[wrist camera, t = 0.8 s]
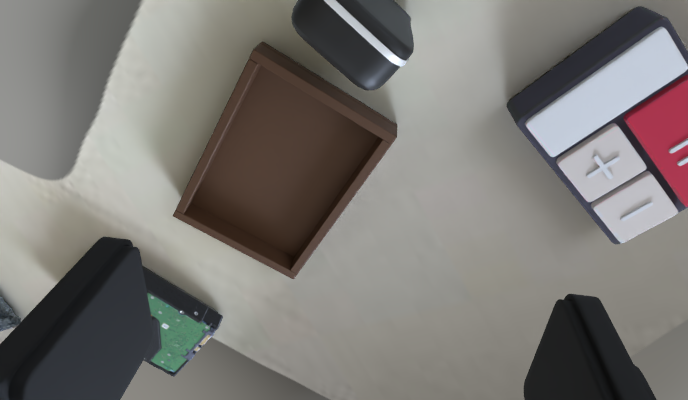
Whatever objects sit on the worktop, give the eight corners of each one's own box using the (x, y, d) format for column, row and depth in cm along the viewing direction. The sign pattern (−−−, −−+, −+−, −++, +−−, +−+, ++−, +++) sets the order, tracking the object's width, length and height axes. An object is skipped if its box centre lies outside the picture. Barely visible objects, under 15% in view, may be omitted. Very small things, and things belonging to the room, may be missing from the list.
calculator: (619, 253, 40) (516, 126, 34) (599, 222, 43) (503, 103, 38) (765, 176, 35) (672, 16, 30) (729, 149, 39) (640, 2, 33)
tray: (262, 41, 38) (253, 48, 35) (397, 124, 40) (397, 136, 38) (183, 201, 46) (172, 216, 44) (298, 262, 48) (293, 279, 46)
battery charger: (309, -6, 35) (273, 25, 26) (342, -50, 34) (317, -35, 24) (379, 58, 37) (371, 110, 28) (414, 19, 36) (418, 59, 26)
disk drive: (70, 295, 54) (183, 360, 58) (54, 312, 52) (174, 379, 55) (104, 238, 50) (226, 313, 53) (88, 255, 47) (217, 332, 51)
